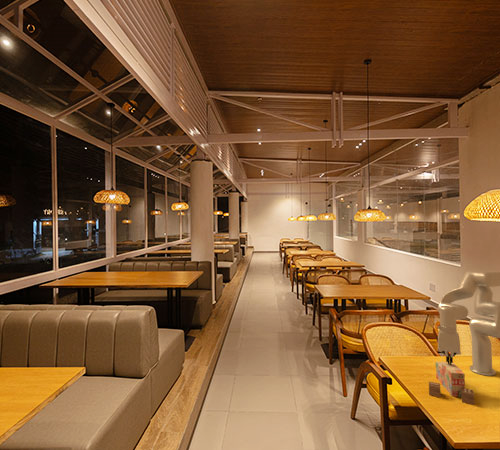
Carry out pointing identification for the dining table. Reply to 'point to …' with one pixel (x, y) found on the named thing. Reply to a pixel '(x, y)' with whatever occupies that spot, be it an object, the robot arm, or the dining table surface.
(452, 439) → the dining table surface
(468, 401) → the walnut cube two
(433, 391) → the walnut cube one
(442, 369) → the stack of blocks
